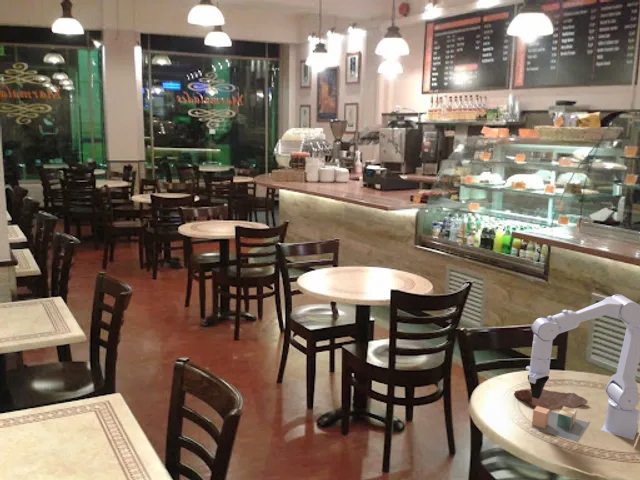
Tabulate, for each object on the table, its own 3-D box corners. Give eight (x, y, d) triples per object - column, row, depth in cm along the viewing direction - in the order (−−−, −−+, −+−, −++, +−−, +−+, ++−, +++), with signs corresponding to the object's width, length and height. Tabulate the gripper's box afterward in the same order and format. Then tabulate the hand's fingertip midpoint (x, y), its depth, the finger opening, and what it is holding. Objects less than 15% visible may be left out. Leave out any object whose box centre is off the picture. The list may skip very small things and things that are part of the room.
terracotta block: (548, 424, 200) (549, 409, 199) (544, 428, 197) (546, 413, 196) (535, 420, 202) (537, 405, 201) (531, 424, 199) (533, 410, 198)
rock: (594, 407, 213) (584, 379, 218) (530, 411, 208) (522, 383, 214) (579, 416, 221) (570, 389, 227) (518, 421, 217) (510, 393, 222)
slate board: (589, 424, 202) (589, 422, 202) (577, 443, 190) (577, 441, 189) (545, 411, 210) (545, 410, 210) (531, 429, 197) (531, 427, 197)
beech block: (569, 429, 197) (575, 421, 203) (571, 417, 197) (576, 409, 202) (556, 425, 200) (562, 417, 205) (558, 413, 199) (563, 406, 204)
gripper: (534, 347, 202) (530, 386, 204) (520, 359, 190) (515, 401, 193) (557, 352, 198) (552, 392, 200) (544, 365, 186) (539, 408, 189)
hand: (535, 397), depth 196 cm, fingers closed
